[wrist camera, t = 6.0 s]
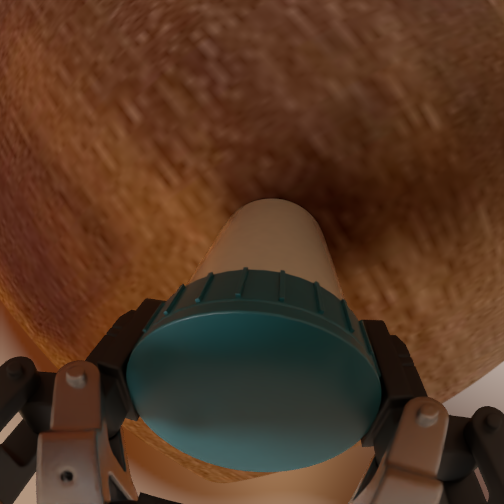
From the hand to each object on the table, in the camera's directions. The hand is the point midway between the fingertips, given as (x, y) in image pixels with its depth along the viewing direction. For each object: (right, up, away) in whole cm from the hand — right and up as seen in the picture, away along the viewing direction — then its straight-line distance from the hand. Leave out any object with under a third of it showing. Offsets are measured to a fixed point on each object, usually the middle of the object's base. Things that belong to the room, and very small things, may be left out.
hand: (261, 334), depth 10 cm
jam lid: (0, -1, -3) cm, 3 cm away
